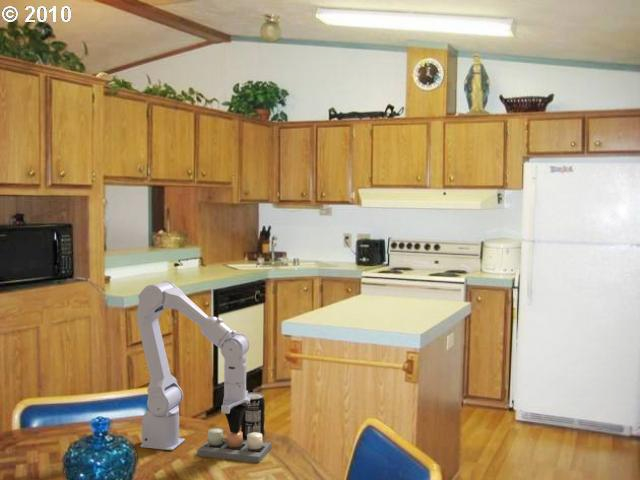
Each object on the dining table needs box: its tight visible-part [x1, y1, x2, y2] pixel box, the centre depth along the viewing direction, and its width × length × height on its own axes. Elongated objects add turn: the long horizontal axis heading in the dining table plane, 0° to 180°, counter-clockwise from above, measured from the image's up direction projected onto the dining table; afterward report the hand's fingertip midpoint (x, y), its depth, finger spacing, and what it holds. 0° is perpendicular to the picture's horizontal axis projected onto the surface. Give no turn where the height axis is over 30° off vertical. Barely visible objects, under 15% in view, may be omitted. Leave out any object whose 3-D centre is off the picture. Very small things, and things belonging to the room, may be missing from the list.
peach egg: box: [226, 430, 244, 447], centre depth 176 cm, size 4×4×3 cm
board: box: [196, 437, 272, 464], centre depth 176 cm, size 17×10×2 cm, turn 77°
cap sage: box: [207, 428, 224, 445], centre depth 178 cm, size 4×4×3 cm
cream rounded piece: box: [247, 432, 263, 449], centre depth 175 cm, size 4×4×3 cm
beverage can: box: [240, 392, 266, 440], centre depth 187 cm, size 7×7×12 cm
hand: (235, 431), depth 176 cm, fingers closed
